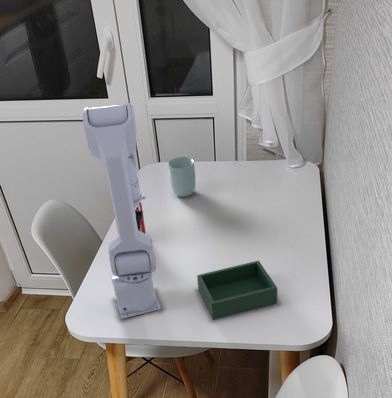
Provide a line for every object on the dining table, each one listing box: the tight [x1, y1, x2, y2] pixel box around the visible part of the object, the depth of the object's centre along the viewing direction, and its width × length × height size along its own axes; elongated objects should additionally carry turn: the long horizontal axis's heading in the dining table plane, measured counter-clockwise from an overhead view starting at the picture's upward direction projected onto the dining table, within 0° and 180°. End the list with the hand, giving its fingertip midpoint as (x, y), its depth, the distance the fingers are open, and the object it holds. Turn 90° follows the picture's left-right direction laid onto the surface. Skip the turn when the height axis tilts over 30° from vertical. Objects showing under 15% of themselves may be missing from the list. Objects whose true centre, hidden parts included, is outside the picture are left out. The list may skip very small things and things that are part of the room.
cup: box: [167, 156, 196, 198], centre depth 162 cm, size 8×8×10 cm
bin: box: [196, 260, 278, 320], centre depth 125 cm, size 16×12×5 cm
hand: (135, 227), depth 146 cm, fingers open, 6 cm apart
